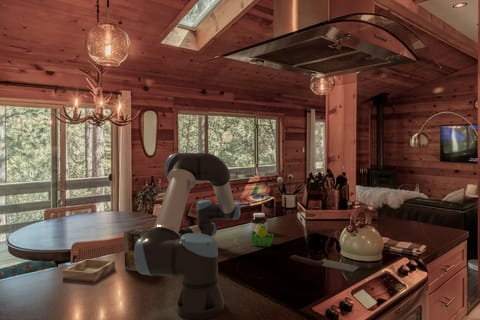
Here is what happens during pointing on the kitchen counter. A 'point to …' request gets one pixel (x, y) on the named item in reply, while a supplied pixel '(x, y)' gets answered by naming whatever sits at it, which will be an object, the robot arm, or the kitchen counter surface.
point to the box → (88, 270)
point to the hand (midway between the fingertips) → (151, 244)
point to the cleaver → (326, 264)
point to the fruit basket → (262, 237)
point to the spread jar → (258, 221)
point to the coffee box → (131, 247)
